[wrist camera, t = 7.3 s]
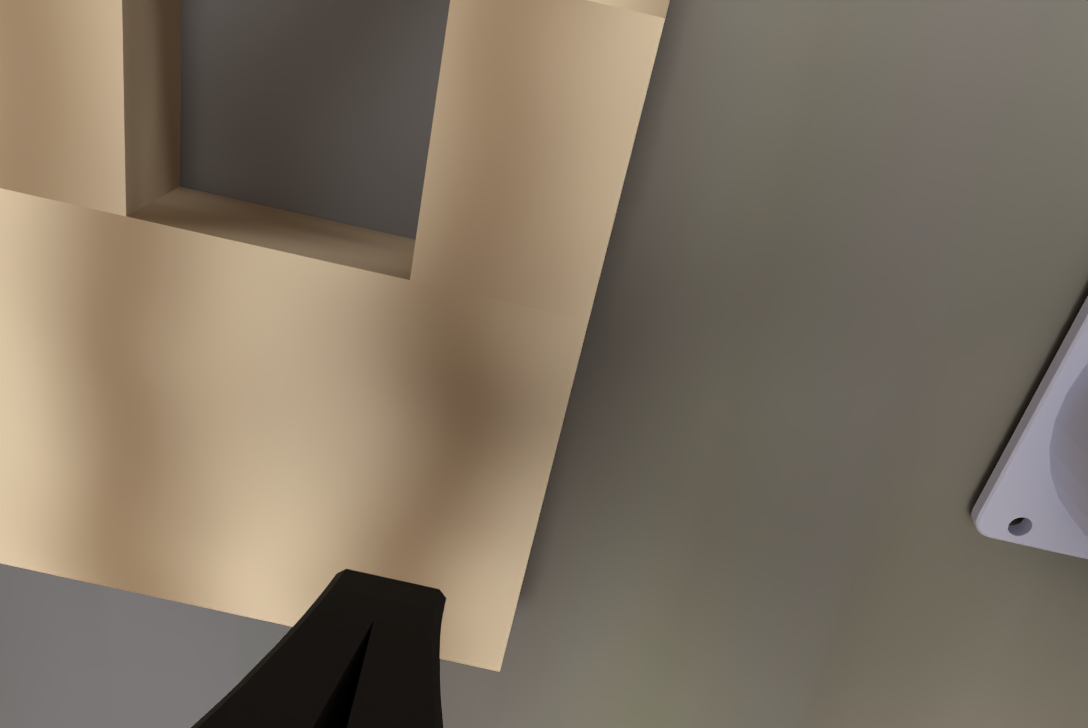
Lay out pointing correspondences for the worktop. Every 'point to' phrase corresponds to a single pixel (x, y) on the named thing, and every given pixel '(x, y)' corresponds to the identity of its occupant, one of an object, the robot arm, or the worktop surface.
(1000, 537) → the robot arm
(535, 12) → the board
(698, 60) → the worktop surface
